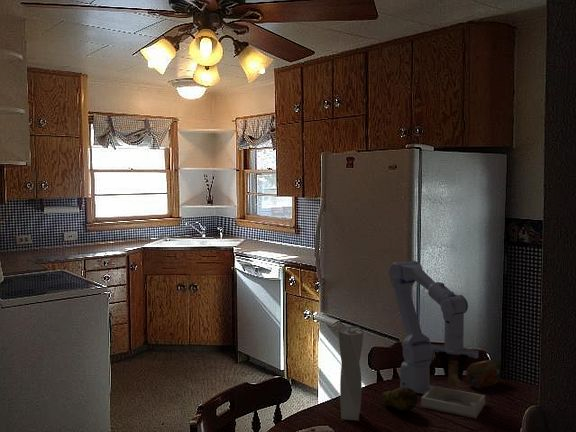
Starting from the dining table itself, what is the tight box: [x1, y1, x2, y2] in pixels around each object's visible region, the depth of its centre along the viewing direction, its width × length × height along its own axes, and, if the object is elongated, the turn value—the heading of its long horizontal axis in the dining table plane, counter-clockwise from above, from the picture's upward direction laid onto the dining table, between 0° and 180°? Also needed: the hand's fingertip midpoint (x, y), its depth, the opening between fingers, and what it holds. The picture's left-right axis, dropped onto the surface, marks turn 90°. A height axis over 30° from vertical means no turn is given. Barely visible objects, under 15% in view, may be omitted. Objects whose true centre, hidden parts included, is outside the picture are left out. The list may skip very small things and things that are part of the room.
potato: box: [381, 387, 419, 411], centre depth 164 cm, size 8×13×8 cm, turn 13°
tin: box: [465, 359, 502, 389], centre depth 187 cm, size 15×3×8 cm, turn 118°
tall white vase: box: [338, 325, 364, 422], centre depth 160 cm, size 8×8×28 cm
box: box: [420, 385, 486, 420], centre depth 168 cm, size 17×13×3 cm
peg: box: [447, 360, 461, 387], centre depth 168 cm, size 4×4×7 cm
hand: (453, 377), depth 168 cm, fingers closed on peg, 4 cm apart
